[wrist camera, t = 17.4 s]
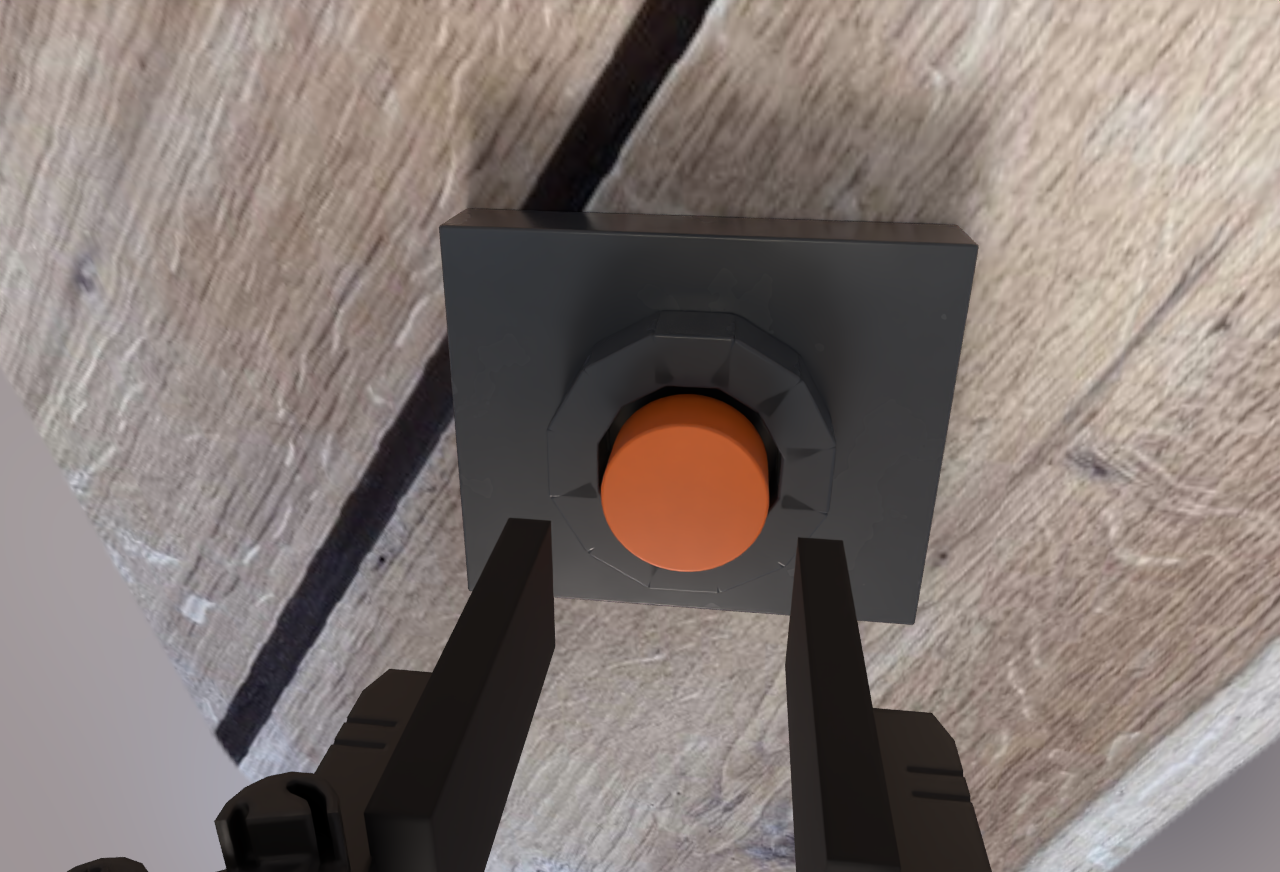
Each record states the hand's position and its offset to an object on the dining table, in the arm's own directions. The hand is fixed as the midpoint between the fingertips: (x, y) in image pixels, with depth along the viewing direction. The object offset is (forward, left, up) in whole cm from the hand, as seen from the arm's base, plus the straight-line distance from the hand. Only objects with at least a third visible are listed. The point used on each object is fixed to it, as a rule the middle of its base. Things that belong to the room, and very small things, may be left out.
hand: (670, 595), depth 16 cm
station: (0, 0, -9) cm, 9 cm away
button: (0, 0, -5) cm, 5 cm away
